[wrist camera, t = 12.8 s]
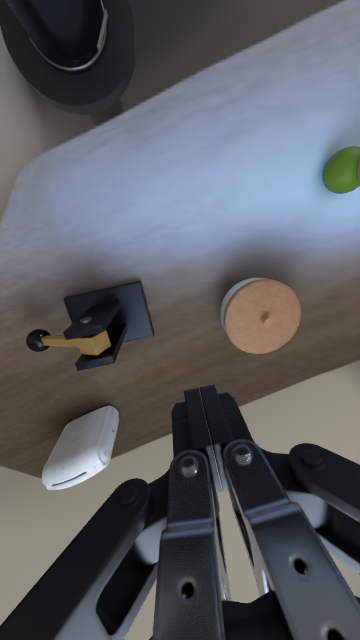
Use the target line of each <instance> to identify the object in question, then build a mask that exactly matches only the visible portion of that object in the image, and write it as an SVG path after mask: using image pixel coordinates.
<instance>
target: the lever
mask: <svg viewBox="0 0 360 640" xmlns="http://www.w3.org/2000/svg"><path fill="white" fill-rule="evenodd" d="M26 343H27V346H28V347H29V348H30V349H31V350H33V351H37V352H41V351H44V350H46V349H48V348H49V347H50V346H65V347H79V349H80V352H81V354H87V355H98V354H100V353H101V352H103V351H104V350H106V349H107V348H109V347H110V346H111V344H110V341H109V338H108V335H107V331H106V330H105V331H104V332H102V333H97V334H92V335H88V336H83V337H78V338H74V339H69V340H66V338H65V336H51V335H50V333H49V332H47V331H46V330H43V329H37V330H33V331H32V332H30V333H29V334H28V336H27V339H26Z"/></svg>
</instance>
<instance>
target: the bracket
mask: <svg viewBox="0 0 360 640" xmlns="http://www.w3.org/2000/svg"><path fill="white" fill-rule="evenodd" d="M64 302H65V304H66V307H67V310H68V313H69V315H70V318H71V321H72V325H71V326H70V327H68V328H67V329H66V330H65V331H64V332H63V333H64V336H65V338H66V340H69V339H74V338H78V337H83V336H88V335H92V334H97V333H102V332H104V331H105V330H106V331H107V335H108V338H109V341H110V344H111V346H110V347H109V348H107V349H106V350H104V351H103V352H101V353H100V354H98V355H87V354H82V355H81V356H80V358H79V359H78V360H77V362H76V363H75V365H76V367H77V370H78V371H80V370H84V369H89V368H94V367H98V366H103V365H108V364H112V363H114V362H115V360H116V357H117V355H118V352H119V350H120V347H121V345H122V342H126V341H131V340H135V339H140V338H145V337H149V336H154V331H153V327H152V323H151V319H150V315H149V311H148V308H147V304H146V300H145V296H144V292H143V288H142V284H141V281H138V282H134V283H129V284H124V285H120V286H115V287H110V288H106V289H101V290H96V291H92V292H87V293H82V294H78V295H73V296H68V297H66V298H64Z"/></svg>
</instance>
